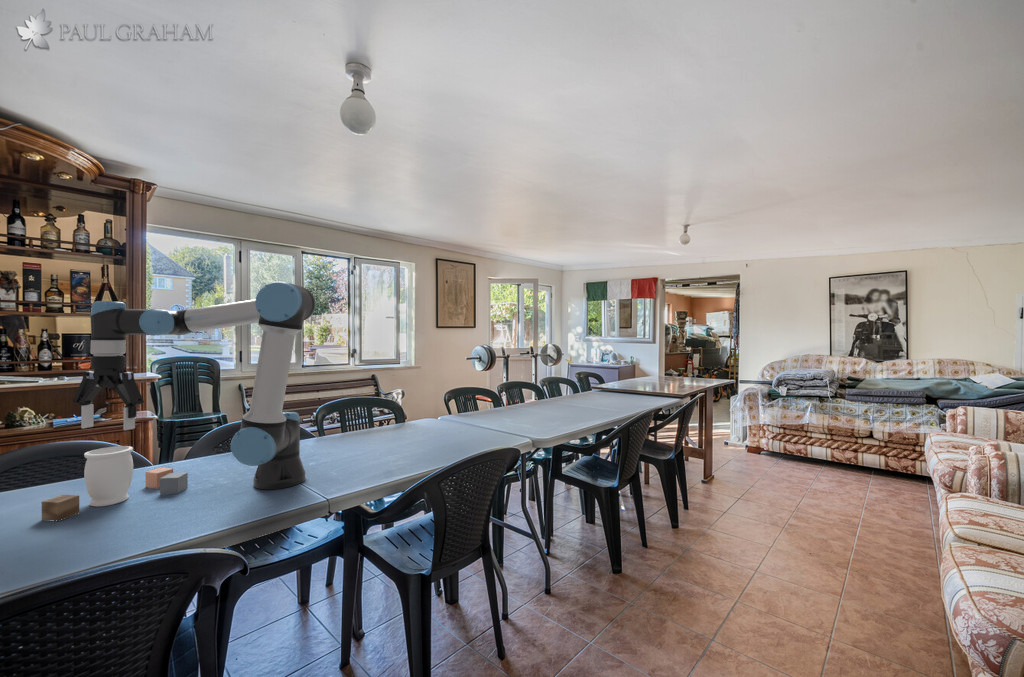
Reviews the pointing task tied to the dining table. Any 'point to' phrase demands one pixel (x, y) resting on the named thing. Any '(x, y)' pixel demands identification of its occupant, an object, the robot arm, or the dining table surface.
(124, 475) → the jar
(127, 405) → the robot arm
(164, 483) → the grey block
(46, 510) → the walnut block
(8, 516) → the dining table surface
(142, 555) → the dining table surface
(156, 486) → the terracotta block
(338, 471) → the dining table surface
